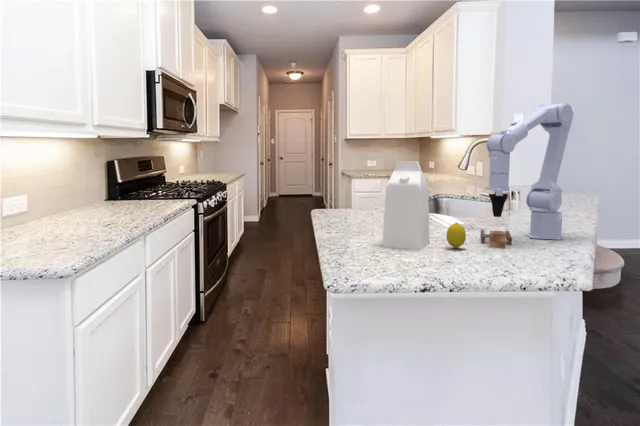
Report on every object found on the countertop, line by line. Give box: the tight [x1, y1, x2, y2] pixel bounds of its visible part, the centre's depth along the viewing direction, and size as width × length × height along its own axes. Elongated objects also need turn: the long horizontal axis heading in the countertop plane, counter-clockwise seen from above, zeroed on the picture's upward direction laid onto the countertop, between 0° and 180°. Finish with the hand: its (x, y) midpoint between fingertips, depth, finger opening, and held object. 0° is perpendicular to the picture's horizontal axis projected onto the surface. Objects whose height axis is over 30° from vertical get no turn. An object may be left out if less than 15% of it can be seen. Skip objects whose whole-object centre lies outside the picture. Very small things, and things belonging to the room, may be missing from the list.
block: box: [488, 230, 507, 249], centre depth 148 cm, size 4×4×4 cm
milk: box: [381, 160, 430, 251], centre depth 149 cm, size 12×12×26 cm
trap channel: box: [480, 229, 513, 246], centre depth 159 cm, size 9×16×2 cm, turn 163°
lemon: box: [446, 222, 467, 250], centre depth 144 cm, size 6×6×8 cm
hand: (497, 216), depth 152 cm, fingers closed
